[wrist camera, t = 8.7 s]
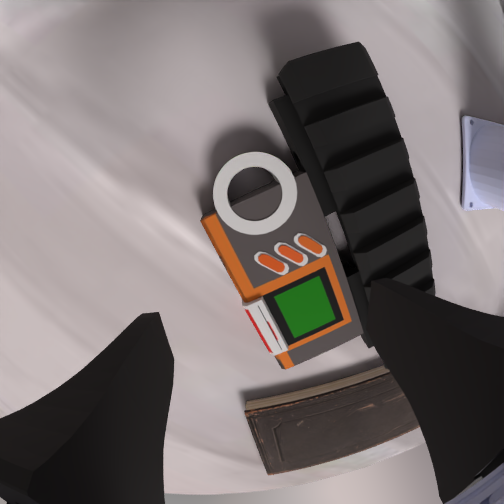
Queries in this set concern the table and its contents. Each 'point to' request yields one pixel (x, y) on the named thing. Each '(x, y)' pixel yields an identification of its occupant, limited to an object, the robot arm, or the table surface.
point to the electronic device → (283, 261)
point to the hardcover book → (329, 420)
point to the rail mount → (356, 167)
